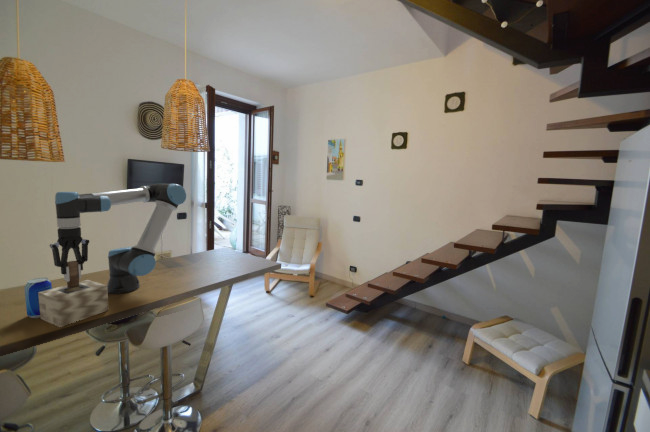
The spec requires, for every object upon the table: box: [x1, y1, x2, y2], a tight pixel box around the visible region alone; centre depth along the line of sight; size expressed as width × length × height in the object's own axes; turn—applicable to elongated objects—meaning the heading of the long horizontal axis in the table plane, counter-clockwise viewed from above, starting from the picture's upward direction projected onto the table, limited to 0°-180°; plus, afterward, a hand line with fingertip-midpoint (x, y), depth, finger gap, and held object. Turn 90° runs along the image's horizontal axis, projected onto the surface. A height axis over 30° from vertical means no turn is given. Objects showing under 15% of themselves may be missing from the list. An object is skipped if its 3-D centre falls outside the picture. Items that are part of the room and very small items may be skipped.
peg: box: [66, 260, 80, 288], centre depth 125 cm, size 4×4×11 cm
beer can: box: [23, 277, 53, 319], centre depth 125 cm, size 8×8×16 cm
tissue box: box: [38, 279, 110, 328], centre depth 127 cm, size 18×16×12 cm
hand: (72, 279), depth 125 cm, fingers closed on peg, 3 cm apart
